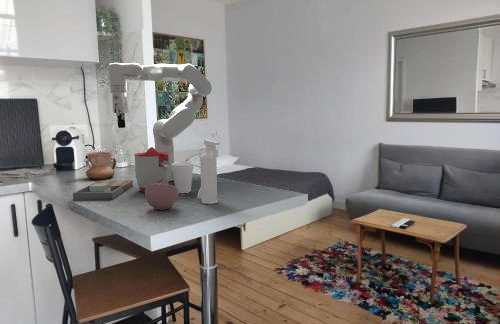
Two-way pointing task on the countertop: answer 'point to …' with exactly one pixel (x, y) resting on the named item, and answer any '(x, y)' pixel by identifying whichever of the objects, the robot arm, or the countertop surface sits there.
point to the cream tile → (104, 190)
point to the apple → (161, 195)
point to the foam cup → (182, 176)
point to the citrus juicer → (151, 168)
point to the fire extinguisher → (208, 172)
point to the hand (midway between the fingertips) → (121, 127)
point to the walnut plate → (117, 184)
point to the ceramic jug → (100, 165)
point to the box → (96, 194)
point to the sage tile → (99, 187)
